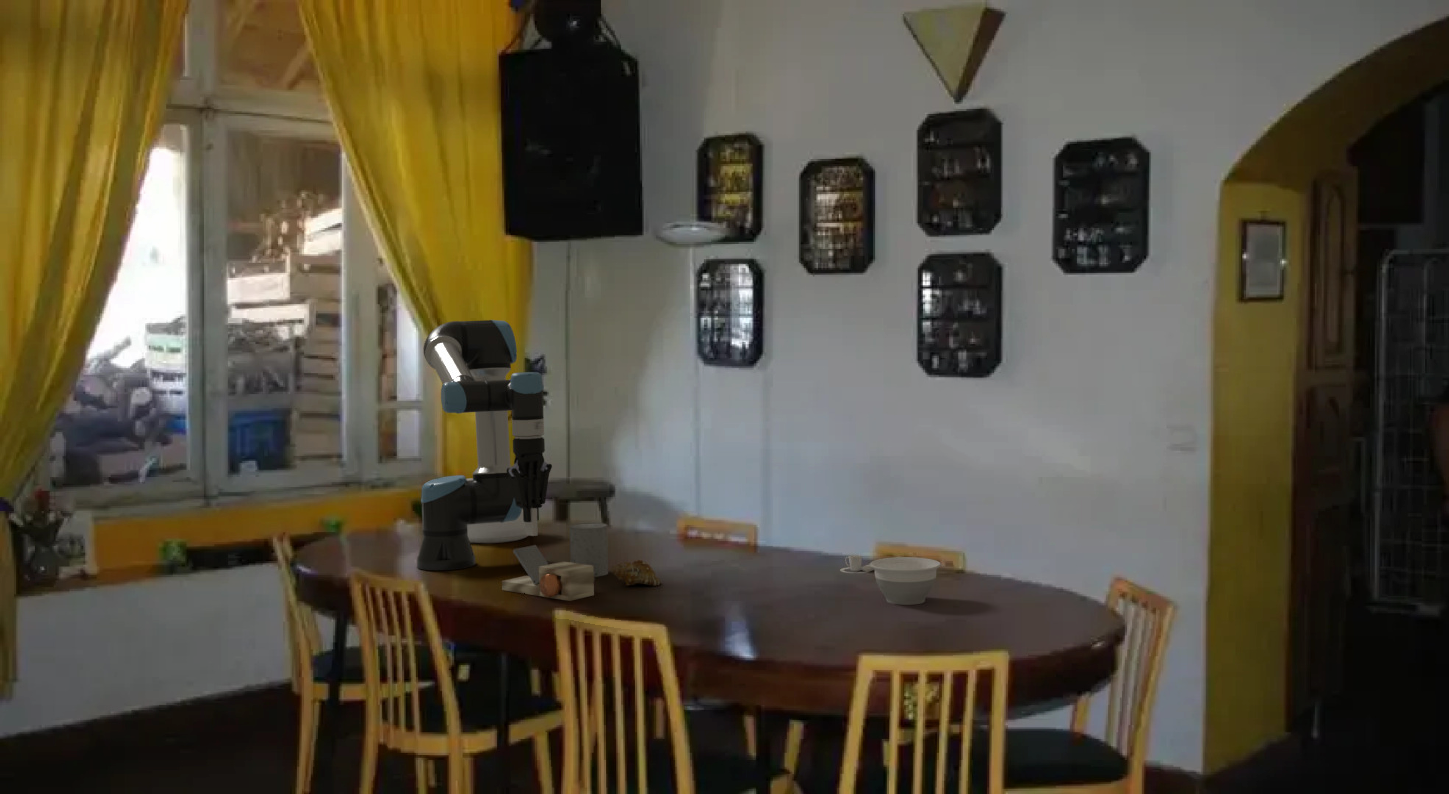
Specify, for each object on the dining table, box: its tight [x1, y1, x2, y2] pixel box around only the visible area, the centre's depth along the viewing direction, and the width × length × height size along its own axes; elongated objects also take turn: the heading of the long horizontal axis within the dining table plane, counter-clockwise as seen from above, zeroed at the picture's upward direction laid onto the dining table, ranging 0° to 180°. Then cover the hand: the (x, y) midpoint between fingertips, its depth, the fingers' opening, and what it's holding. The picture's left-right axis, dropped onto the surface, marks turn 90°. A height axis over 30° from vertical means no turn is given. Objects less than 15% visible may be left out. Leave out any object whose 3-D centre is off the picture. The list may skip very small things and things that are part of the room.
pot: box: [466, 477, 529, 544], centre depth 429 cm, size 26×24×17 cm
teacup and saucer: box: [839, 554, 875, 574], centre depth 366 cm, size 9×8×4 cm
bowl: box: [869, 556, 942, 606], centre depth 329 cm, size 16×16×9 cm
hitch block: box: [501, 561, 595, 602], centre depth 346 cm, size 23×8×7 cm, turn 51°
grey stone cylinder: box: [568, 522, 609, 578], centre depth 369 cm, size 10×10×12 cm
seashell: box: [610, 559, 661, 587], centre depth 353 cm, size 9×8×10 cm
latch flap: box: [512, 544, 550, 585], centre depth 348 cm, size 11×7×1 cm
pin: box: [540, 572, 596, 598], centre depth 343 cm, size 5×14×5 cm, turn 141°
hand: (531, 535), depth 348 cm, fingers closed
